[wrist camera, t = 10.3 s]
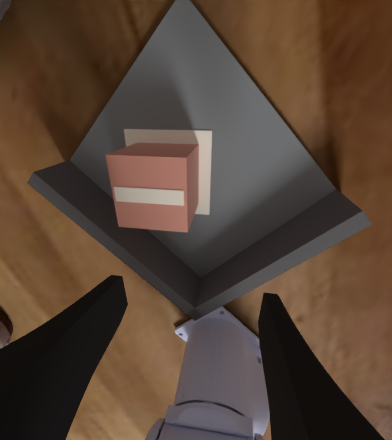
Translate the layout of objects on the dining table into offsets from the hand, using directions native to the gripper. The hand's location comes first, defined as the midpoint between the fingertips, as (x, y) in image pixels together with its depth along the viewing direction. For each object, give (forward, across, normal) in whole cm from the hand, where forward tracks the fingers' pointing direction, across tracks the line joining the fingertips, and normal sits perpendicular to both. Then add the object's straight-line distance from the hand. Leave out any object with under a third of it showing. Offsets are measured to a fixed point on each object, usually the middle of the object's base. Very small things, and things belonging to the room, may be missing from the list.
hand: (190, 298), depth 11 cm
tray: (+10, +1, -3) cm, 11 cm away
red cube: (+10, +4, -4) cm, 11 cm away
